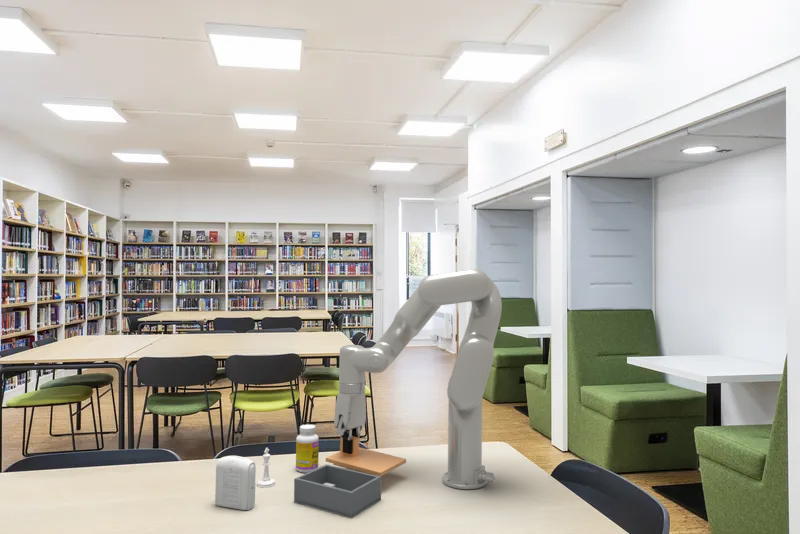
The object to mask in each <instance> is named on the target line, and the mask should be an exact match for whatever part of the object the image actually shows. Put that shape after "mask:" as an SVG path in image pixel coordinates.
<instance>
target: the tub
mask: <svg viewBox="0 0 800 534" xmlns="http://www.w3.org/2000/svg"><path fill="white" fill-rule="evenodd" d="M293 480H294V481H293V486H294V488H293V490H294V491H293V502H294V503H295V504H299V505H303V506H306V507H310V508H313V509H316V510H320V511H324V512H327V513H331V514H334V515H337V516H338V515H339V516H342V517H345V518H349V519H353V518H354V517H355V516H357V515H359V514H361V513H362V512H364V511H365V510H367V509H369V508H370V507H372V506H374V505H375V504H377V503H378V502H380V501H381V500H382V476H381V477H380V476H376V475H371V474H367V473H362V472H358V471H354V470H351V469H347V468H344V467H340V466H336V465H330V464H327V463H326V464H324V465H322V466H318V468H317V469H315V470H312V471H310V472H308V473H303V474H302V475H299V476H297V477H295V478H293Z"/></svg>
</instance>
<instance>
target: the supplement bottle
mask: <svg viewBox="0 0 800 534" xmlns="http://www.w3.org/2000/svg"><path fill="white" fill-rule="evenodd" d="M316 430H317V429H316V425H314V424H302V425H300V426H299V434H298V435H297V436H296V440H295V441H296V442H295V446H296V447H295V470H296V471H297V472H299V473H303V474H306V473H308V472H310V471H312V470H315V469H317V468H319V442H320V440H319V439H320V438H319V436H318V434H316Z"/></svg>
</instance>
